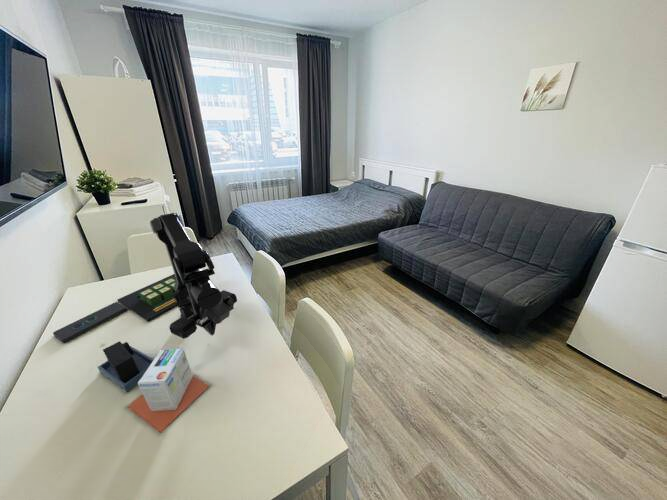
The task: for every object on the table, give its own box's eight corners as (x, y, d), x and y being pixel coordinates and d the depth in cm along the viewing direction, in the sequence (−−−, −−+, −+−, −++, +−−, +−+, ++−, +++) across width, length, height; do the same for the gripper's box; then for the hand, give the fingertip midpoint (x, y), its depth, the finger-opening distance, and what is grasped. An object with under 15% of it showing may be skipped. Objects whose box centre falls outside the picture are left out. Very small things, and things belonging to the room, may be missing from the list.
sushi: (148, 321, 100) (145, 313, 99) (117, 301, 113) (114, 293, 111) (207, 289, 119) (205, 282, 118) (176, 274, 132) (174, 268, 130)
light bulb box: (170, 376, 78) (159, 348, 73) (194, 375, 78) (184, 347, 73) (150, 412, 68) (135, 383, 63) (177, 410, 68) (164, 381, 64)
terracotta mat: (177, 367, 81) (177, 367, 81) (209, 385, 75) (209, 385, 75) (127, 407, 70) (127, 406, 70) (160, 432, 64) (160, 432, 64)
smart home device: (51, 332, 94) (115, 301, 110) (54, 335, 95) (117, 304, 110) (61, 340, 90) (126, 307, 106) (64, 343, 91) (128, 310, 107)
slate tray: (133, 351, 87) (130, 345, 86) (159, 367, 81) (157, 361, 80) (100, 372, 80) (97, 367, 79) (127, 392, 74) (123, 386, 73)
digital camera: (145, 371, 79) (137, 354, 76) (123, 384, 75) (114, 366, 72) (132, 355, 85) (124, 338, 82) (111, 366, 81) (102, 349, 78)
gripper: (189, 319, 64) (204, 366, 70) (246, 281, 79) (254, 323, 85) (160, 306, 69) (177, 352, 75) (219, 273, 83) (228, 313, 90)
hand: (212, 334), depth 81 cm, fingers closed
